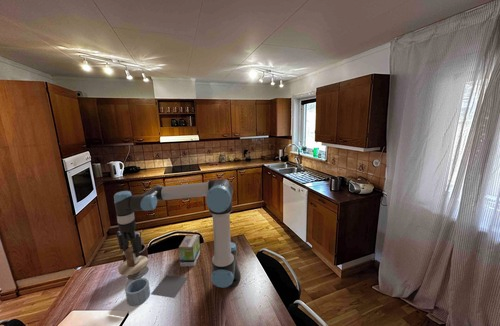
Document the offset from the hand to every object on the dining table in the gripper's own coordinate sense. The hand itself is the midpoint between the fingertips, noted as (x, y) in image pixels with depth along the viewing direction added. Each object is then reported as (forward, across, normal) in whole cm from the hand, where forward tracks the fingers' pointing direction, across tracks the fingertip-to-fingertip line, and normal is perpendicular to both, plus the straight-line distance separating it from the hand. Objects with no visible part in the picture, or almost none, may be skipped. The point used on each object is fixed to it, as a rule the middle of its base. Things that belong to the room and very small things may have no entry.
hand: (133, 261), depth 108 cm
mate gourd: (+23, +15, -18) cm, 33 cm away
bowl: (+23, 0, 0) cm, 23 cm away
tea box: (+23, -13, -35) cm, 44 cm away
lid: (+3, 0, 0) cm, 3 cm away
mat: (+23, -13, -10) cm, 28 cm away
